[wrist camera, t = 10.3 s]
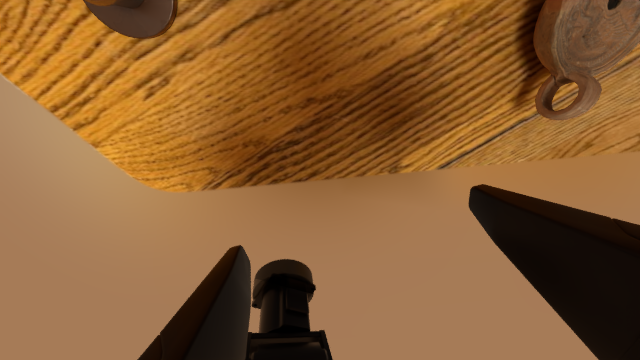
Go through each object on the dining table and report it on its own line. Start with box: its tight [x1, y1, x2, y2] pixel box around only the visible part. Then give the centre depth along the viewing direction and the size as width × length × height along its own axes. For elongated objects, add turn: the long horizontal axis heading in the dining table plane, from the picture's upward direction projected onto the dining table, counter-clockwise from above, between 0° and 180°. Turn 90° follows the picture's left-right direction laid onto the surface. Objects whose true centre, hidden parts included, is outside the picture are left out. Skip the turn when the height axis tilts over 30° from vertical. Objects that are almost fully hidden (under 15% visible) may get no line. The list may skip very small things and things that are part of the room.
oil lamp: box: [533, 0, 640, 120], centre depth 16 cm, size 13×8×5 cm, turn 167°
